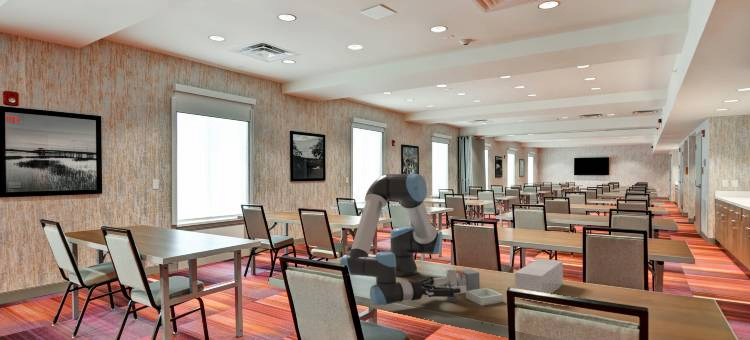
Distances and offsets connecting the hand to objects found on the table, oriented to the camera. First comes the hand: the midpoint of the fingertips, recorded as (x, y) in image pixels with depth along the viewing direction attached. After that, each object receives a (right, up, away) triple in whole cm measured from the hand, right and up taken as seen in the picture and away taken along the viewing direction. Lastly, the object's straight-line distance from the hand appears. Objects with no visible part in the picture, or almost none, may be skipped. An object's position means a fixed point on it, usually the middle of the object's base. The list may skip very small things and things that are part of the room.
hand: (456, 284), depth 176 cm
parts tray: (+11, -6, -1) cm, 13 cm away
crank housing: (+7, -6, +14) cm, 17 cm away
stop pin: (-2, -6, -1) cm, 7 cm away
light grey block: (+38, -6, +11) cm, 40 cm away
